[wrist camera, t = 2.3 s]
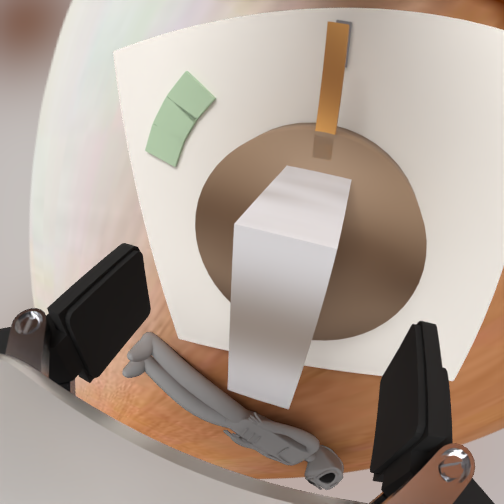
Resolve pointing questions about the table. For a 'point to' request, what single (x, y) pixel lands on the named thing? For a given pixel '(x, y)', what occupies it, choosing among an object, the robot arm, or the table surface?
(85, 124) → the table surface
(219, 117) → the white square board
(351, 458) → the table surface
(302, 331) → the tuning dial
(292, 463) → the alien figure
